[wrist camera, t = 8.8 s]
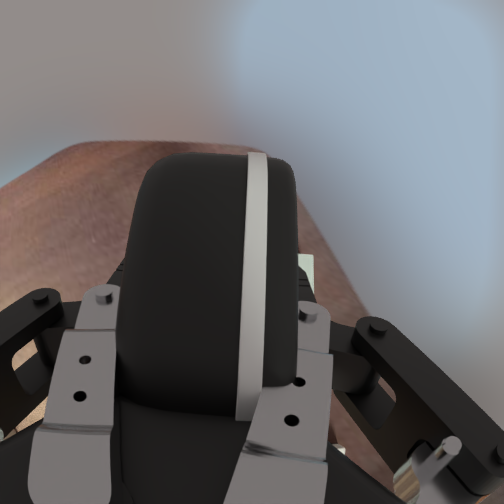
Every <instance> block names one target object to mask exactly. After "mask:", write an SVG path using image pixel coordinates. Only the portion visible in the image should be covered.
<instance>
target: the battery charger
mask: <svg viewBox="0 0 504 504" xmlns="http://www.w3.org/2000/svg"><path fill="white" fill-rule="evenodd" d="M298 292H299V272H298V225H297V197H296V184H295V178H294V173H293V170H292V168H291V166H290V165H289V164H288V163H286V162H285V161H283V160H280V159H277V158H269V157H266V154H265V153H255V152H248V153H247V156H245V155H231V154H215V153H195V152H190V153H177V154H172V155H170V156H167V157H165V158H163V159H160V160H159V161H157V162H156V163H155V164H154V165H153V166H152V167H151V168H150V169H149V170H148V171H147V173H146V175H145V178H144V180H143V182H142V184H141V187H140V189H139V192H138V196H137V200H136V204H135V208H134V213H133V218H132V222H131V227H130V232H129V237H128V243H127V248H126V254H125V259H124V265H123V271H122V278H121V285H120V293H119V301H118V309H117V318H116V328H115V340H116V353H117V367H118V377H119V384H120V394H121V396H124V397H125V398H127V399H129V400H131V401H133V402H134V403H136V404H138V405H142V406H146V407H150V408H154V409H159V410H164V411H172V412H181V413H190V414H201V415H213V416H229V417H235V420H236V421H252V420H253V416H254V413H255V410H256V406H257V403H258V400H259V397H260V393H261V391H262V387H280V386H287V385H289V384H291V383H293V385H295V386H296V376H297V355H298Z"/></svg>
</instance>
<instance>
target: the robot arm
mask: <svg viewBox="0 0 504 504" xmlns="http://www.w3.org/2000/svg"><path fill="white" fill-rule="evenodd" d="M124 259H125V258H124ZM124 259H123V261H122V262H121V263H120V265H119V266H118V268H117V269H116V271H115V272H114V273H113V275H112V276H111V278H110V279H109V280H108V282H107V283H106V284H104V285H98V286H95V287H92V288H90V289H89V290H88V291H86V293H85V294H84V296H83V299H82V301H77V302H62V301H61V297H60V293H59V292H58V291H56V290H55V289H51V288H41V289H37V290H34V291H32V292H30V293H28V294H27V295H25V296H24V297H22V298H21V299H19V300H17V301H16V302H14V303H13V304H11V305H10V306H8V307H7V308H5V309H4V310H2V311H1V312H0V504H479V503H480V502H481V501H483V500H484V499H485V498H486V497H488V496H489V495H490V494H492V493H493V492H494V491H495V490H496V489H498V488H499V487H500V486H501V485H503V484H504V431H503V430H502V429H501V428H500V427H499V426H498V425H497V424H496V423H495V422H494V421H493V420H492V419H491V418H490V417H489V416H488V415H487V414H486V413H485V412H484V411H483V410H482V409H481V408H480V407H479V406H478V405H477V404H476V403H475V402H474V401H473V400H472V399H471V398H470V397H469V396H468V395H467V394H466V393H465V392H464V391H463V390H462V389H461V388H460V387H459V386H458V385H457V384H456V383H454V382H453V381H452V380H451V379H450V378H449V377H448V376H447V375H446V374H445V373H444V372H443V371H442V370H441V369H440V368H439V367H438V366H437V365H436V364H434V363H433V362H432V361H431V360H430V359H429V358H428V357H427V356H426V355H425V354H424V353H423V352H422V351H421V350H420V349H419V348H418V347H416V346H415V345H414V344H413V343H412V342H411V341H410V340H409V339H408V338H407V337H406V336H405V335H403V334H402V333H401V332H400V331H399V330H398V329H397V328H396V327H395V326H394V325H392V324H391V323H390V322H388V321H386V320H384V319H381V318H378V317H371V316H369V317H363V318H361V319H359V320H358V321H357V323H356V326H355V328H354V327H350V326H345V325H341V324H338V323H335V322H333V321H331V320H330V314H329V312H328V311H327V310H326V309H325V308H324V307H323V306H321V305H319V304H317V302H316V299H315V296H314V294H313V291H312V288H311V285H310V282H309V281H308V280H309V279H308V277H307V274H306V272H305V271H304V270H303V269H302V268H301V267H300V266H298V272H299V292H298V355H297V376H296V386H295V385H293V383H291V384H289V385H287V386H280V387H262V391H261V393H260V397H259V400H258V403H257V406H256V410H255V413H254V416H253V420H252V421H236V420H235V417H229V416H213V415H201V414H190V413H181V412H172V411H164V410H159V409H154V408H150V407H146V406H142V405H138V404H136V403H134V402H133V401H131V400H129V399H127V398H125V397H124V396H121V394H120V384H119V377H118V367H117V353H116V340H115V328H116V318H117V309H118V301H119V293H120V285H121V278H122V271H123V265H124ZM32 339H34V342H35V345H36V348H37V350H38V352H37V353H36V354H34V355H33V356H32V357H31V358H29V359H28V360H27V361H26V362H25V363H23V364H22V365H21V366H20V367H19V368H17V369H16V370H15V371H14V370H13V367H12V358H13V356H14V354H15V353H16V352H17V351H18V350H20V349H21V348H22V347H24V346H25V345H26V344H27V343H29V342H30V341H31V340H32ZM380 376H381V377H382V378H383V379H384V380H385V381H386V382H387V383H388V384H389V386H390V387H391V388H392V389H393V390H394V392H395V395H396V403H395V402H394V401H393V399H392V398H391V397H390V396H389V395H388V394H387V393H386V392H385V390H384V389H383V388H382V387H381V386H380V385H379V384H378V381H379V379H380ZM331 389H333V391H334V394H335V396H336V397H337V399H338V400H339V401H340V403H341V404H342V405H343V407H344V408H345V409H346V411H347V412H348V413H349V415H350V416H351V417H352V419H353V420H354V421H355V423H356V424H357V425H358V427H359V428H360V429H361V431H362V432H363V433H364V435H365V436H366V437H367V439H368V440H369V441H370V443H371V444H372V445H373V447H374V448H375V449H376V451H377V452H378V453H379V455H380V456H381V457H382V458H383V460H384V461H385V462H386V464H387V465H388V466H389V468H390V469H391V470H392V472H393V473H394V474H395V475H394V479H393V485H394V489H395V492H394V493H392V492H391V491H390V490H388V489H387V488H386V487H384V486H383V485H382V484H380V483H379V482H378V481H377V480H375V479H374V478H373V477H371V476H370V475H369V474H368V473H366V472H365V471H364V470H363V469H361V468H360V467H359V466H358V465H356V464H355V463H354V462H353V461H351V460H350V459H349V458H348V457H347V456H345V455H344V454H343V453H342V452H341V451H339V450H338V449H337V448H336V447H335V446H333V445H332V444H331V443H330V442H329V441H328V440H327V438H328V427H329V416H330V403H331ZM47 396H48V399H47V404H46V409H45V415H44V418H42V419H40V420H39V421H37V422H35V423H33V424H32V425H30V426H28V427H26V428H25V429H23V430H21V431H19V432H18V433H16V431H15V429H14V428H15V427H16V426H17V425H18V424H19V423H20V422H21V421H22V420H23V419H25V418H26V417H27V416H28V415H29V414H30V413H31V412H32V411H33V410H34V409H35V408H36V407H37V406H38V405H39V404H40V403H41V402H42V401H43V400H44V399H45V398H46V397H47Z"/></svg>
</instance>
